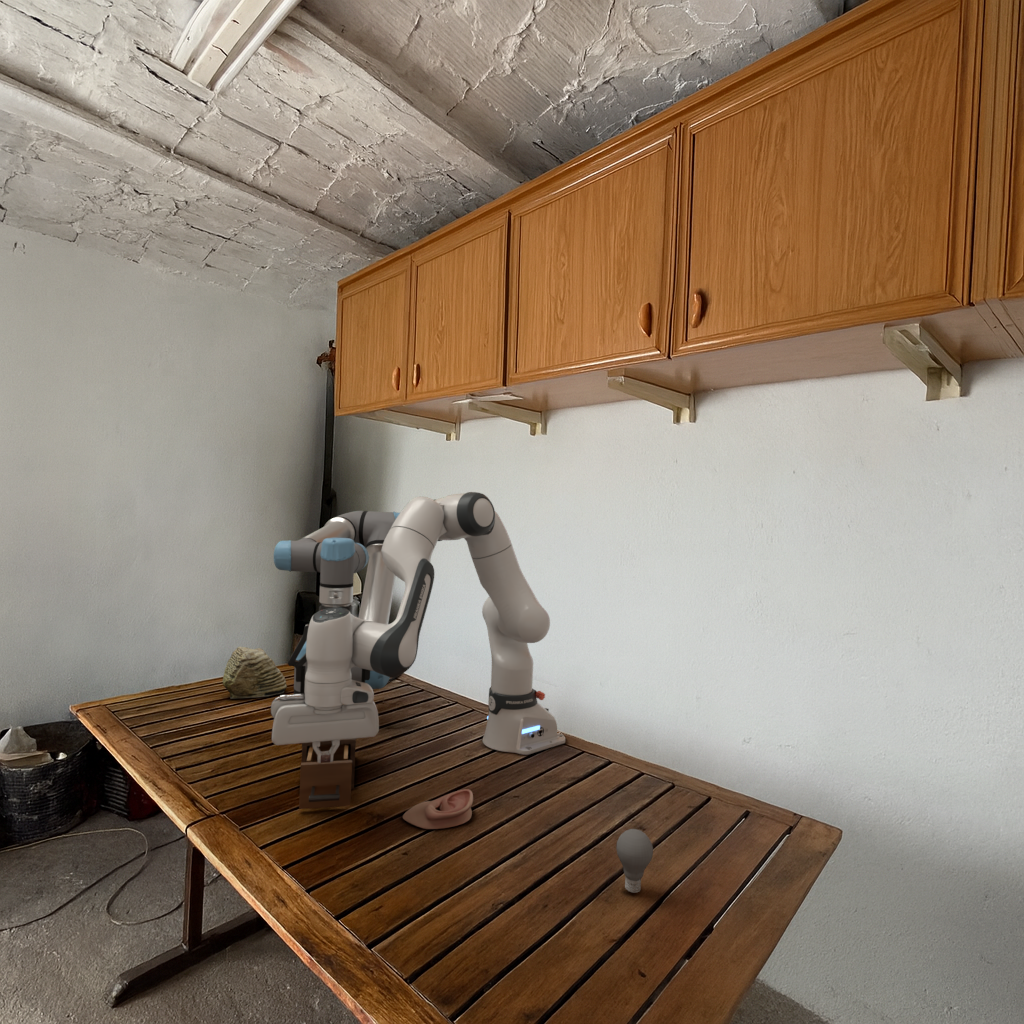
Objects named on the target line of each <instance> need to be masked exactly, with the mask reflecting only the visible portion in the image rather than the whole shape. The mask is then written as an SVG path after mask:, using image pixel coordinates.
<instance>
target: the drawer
mask: <svg viewBox="0 0 1024 1024" xmlns="http://www.w3.org/2000/svg"><path fill="white" fill-rule="evenodd" d="M348 746H349V744H340V745H339V747H338V748H337V750H336V751H335V753H334V754H333V762H328V763H318V762H317V754H316V752H315V750H314V749H313V746H310V747H309V752H308V757H307V762H304V763H300V771H299V772H300V773H299V798H298V799H299V800H298V801H299V802H298V806H299V807H298V809H299V810H305V809H318V808H319V809H320V808H335V807H348V806H351V801H352V789H351V776H352V760H348ZM331 747H332V745H320V747H319V749H320V750H321V751H329V750H330V748H331Z"/></svg>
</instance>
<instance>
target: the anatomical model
mask: <svg viewBox="0 0 1024 1024" xmlns="http://www.w3.org/2000/svg"><path fill="white" fill-rule="evenodd" d="M473 794H474V793H473V791H472V790H471V789H468V788H467V789H466V788H465V789H460V790H459V789H458V790H457V791H452V792H450V793H447V794H444V795H443V796H440V797H438V798H436V799H433V800H428V801H422V802H419V803H418V804H415V805H414V806H412V807H411V808H409V809H407V810H406V811H405V813H404V814H403V815H402V819H403V820H404V822H405V821H406V822H407V823H408V824H410V825H412V826H415V827H416V828H417V827H418V828H420V829H423V830H439V829H448V828H452V827H457V826H460V825H463V824H465V823H467V822H468V821H470V820H471V819H472V816H473V815H472V814H473V810H472V808H471V807H472V805H473V802H474V795H473Z"/></svg>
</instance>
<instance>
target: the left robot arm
mask: <svg viewBox="0 0 1024 1024" xmlns="http://www.w3.org/2000/svg"><path fill="white" fill-rule="evenodd" d="M399 514H400V512H396V511H375V510H373V511H372V510H355V511H349V512H346V513H342V514H340V515H339V514H338V515H337V516H334V517H333V518H330V519H329V520H328V521H327V522H326V523H325V524H324V526H323V527H321V528H319V529H317V530H315V531H313V532H311V533H309V534H308V535H305V536H303V537H301V538H300V539H297V540H290V539H289V540H280V541H278V542H277V543H276V545H275V547H274V549H273V550H274V551H273V563H274V566H275V568H276V569H277V570H279V571H286V572H289V573H291V572H303V573H307V572H308V573H320V575H319V600H318V601H319V603H320V605H319V606H318V611H320V610H323V609H327V608H345V609H348V610H349V611H350V613H351V614H352V615H353V608H354V607H353V605H352V604H353V602H354V576H355V574H357V573H359V572H361V571H362V570H363V569H364V568H366V566H367V569H366V575H365V580H364V585H363V592H362V596H361V603H360V609H359V613H358V618H360V619H363V620H367V621H372V622H376V623H381V624H387V625H388V624H389V621H390V615H391V608H392V603H393V602H392V601H393V597H394V596H393V595H394V589H395V583H396V577H397V576H395V575H394V574H393V573H392V572H391V571H390V570H389V569H388V568H387V566H386V565H385V563H384V561H383V558H382V553H381V550H382V546H383V542H384V540H385V538H386V536H387V534H388V532H389V530H390V528H391V527H392V525H393V523H394V521H395V520H396V518H397V517H398V515H399ZM309 624H310V623H306V624H305V626H304V628H303V634H302V636H301V638H300V640H299V642H297V645H296V647H295V649H294V650H293V652H292V654H291V656H290V658H289V659H288V662H287V665H288V666H289V667H294V672H293V694H301V693H305V692H304V691H305V675H306V672H307V667H308V663H307V659H306V643H307V633H308V628H309ZM351 674H352V678H351V679H352V680H355V681H359V682H363V683H367V684H369V685H370V686H371V688H372V689H373V690H381V689H383V688H384V687H385V686H387V684H388V683H389V682H391V681H393V680H395V679H397V678H398V677H388V676H385V675H382V674H380V673H377V672H375V671H371V670H366V669H362V668H358V667H352V668H351Z"/></svg>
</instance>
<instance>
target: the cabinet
mask: <svg viewBox="0 0 1024 1024" xmlns="http://www.w3.org/2000/svg"><path fill="white" fill-rule="evenodd" d="M356 741H357V738H354V739H343V740H340V744H349V746H348V760H352V776H351V790H354V789H355V769H356V745H357V742H356ZM320 745H332V741H320ZM310 746H312V742H309V743H301V763H304V762H307V757H308V752H309V747H310ZM301 763H300V764H301Z"/></svg>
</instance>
